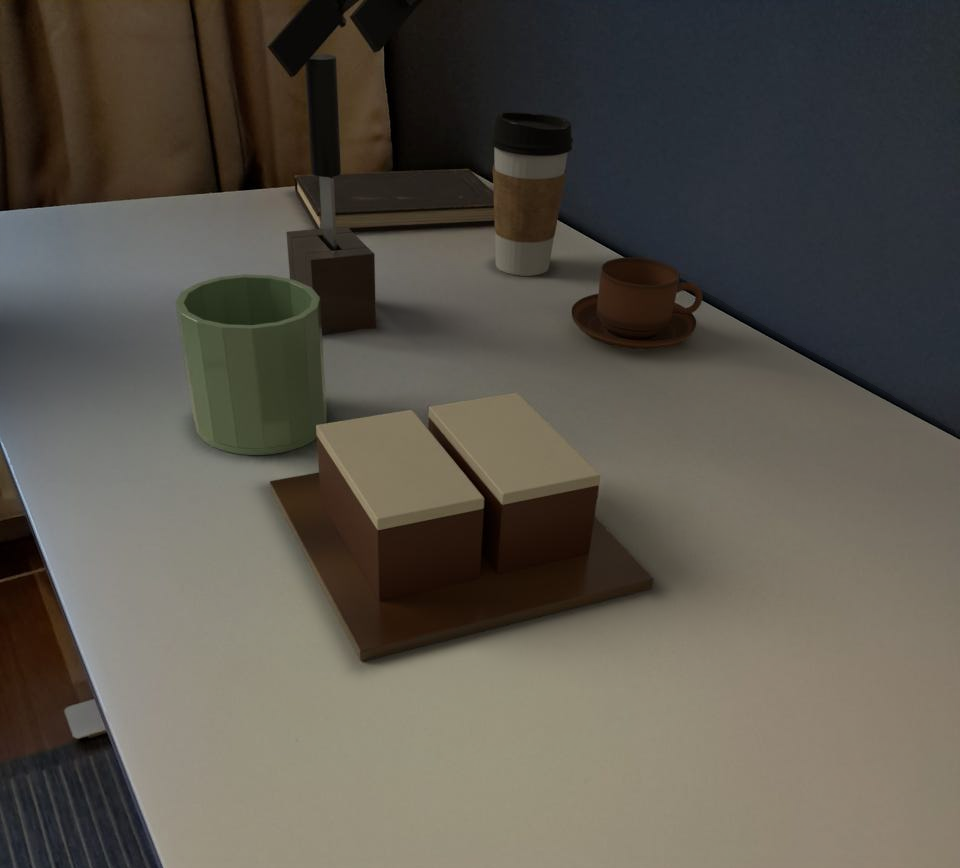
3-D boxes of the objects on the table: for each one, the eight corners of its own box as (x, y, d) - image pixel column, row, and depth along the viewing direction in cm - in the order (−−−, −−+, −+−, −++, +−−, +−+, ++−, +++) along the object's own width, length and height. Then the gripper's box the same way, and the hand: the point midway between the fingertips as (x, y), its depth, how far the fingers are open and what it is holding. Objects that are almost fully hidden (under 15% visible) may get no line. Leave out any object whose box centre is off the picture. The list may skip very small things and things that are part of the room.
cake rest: (320, 502, 68) (315, 424, 64) (411, 485, 70) (412, 409, 66) (379, 601, 60) (377, 519, 56) (480, 578, 62) (485, 497, 58)
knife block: (291, 304, 96) (286, 231, 92) (349, 297, 99) (346, 225, 94) (315, 335, 91) (310, 260, 87) (376, 328, 93) (374, 253, 89)
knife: (315, 310, 96) (299, 52, 81) (340, 307, 96) (328, 52, 82) (325, 324, 93) (311, 61, 79) (351, 321, 94) (341, 60, 80)
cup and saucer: (659, 306, 101) (669, 245, 97) (714, 355, 92) (728, 290, 88) (551, 315, 98) (557, 252, 94) (598, 366, 89) (607, 299, 85)
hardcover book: (505, 224, 119) (507, 204, 117) (318, 233, 113) (317, 213, 111) (467, 185, 130) (467, 167, 129) (295, 193, 124) (293, 173, 123)
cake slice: (427, 482, 71) (428, 406, 67) (511, 466, 73) (517, 392, 69) (497, 574, 62) (503, 494, 59) (589, 553, 65) (601, 474, 61)
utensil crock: (184, 404, 79) (164, 282, 73) (305, 386, 83) (296, 268, 76) (211, 464, 72) (192, 335, 66) (343, 442, 76) (337, 317, 70)
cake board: (270, 490, 70) (269, 480, 70) (518, 445, 77) (519, 435, 77) (360, 662, 57) (360, 651, 56) (652, 588, 63) (654, 578, 63)
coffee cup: (471, 257, 109) (478, 108, 99) (538, 250, 112) (550, 104, 102) (504, 284, 103) (514, 128, 94) (573, 275, 106) (590, 124, 97)
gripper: (621, -144, 68) (440, 72, 66) (429, -61, 87) (283, 109, 84) (568, -264, 64) (370, -36, 61) (377, -149, 82) (220, 29, 80)
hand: (319, 49), depth 73 cm, fingers open, 13 cm apart
